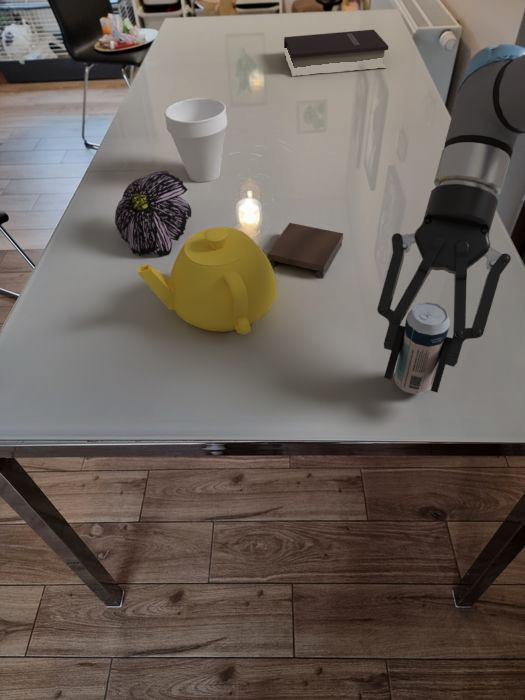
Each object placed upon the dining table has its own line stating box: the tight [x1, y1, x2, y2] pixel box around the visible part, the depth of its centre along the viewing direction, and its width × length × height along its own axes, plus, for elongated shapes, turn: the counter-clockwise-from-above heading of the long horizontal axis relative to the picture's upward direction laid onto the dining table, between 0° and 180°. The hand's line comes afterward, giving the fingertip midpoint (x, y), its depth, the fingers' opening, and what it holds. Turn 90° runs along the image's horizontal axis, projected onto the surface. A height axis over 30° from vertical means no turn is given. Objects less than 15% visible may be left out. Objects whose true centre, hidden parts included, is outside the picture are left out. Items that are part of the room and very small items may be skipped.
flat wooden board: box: [266, 222, 344, 279], centre depth 85 cm, size 10×10×2 cm
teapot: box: [136, 226, 278, 335], centre depth 73 cm, size 20×19×13 cm
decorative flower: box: [114, 170, 192, 258], centre depth 89 cm, size 15×12×15 cm
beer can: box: [393, 301, 451, 395], centre depth 60 cm, size 5×5×12 cm
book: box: [283, 29, 389, 68], centre depth 152 cm, size 28×20×6 cm
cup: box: [164, 97, 228, 183], centre depth 103 cm, size 12×12×14 cm
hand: (410, 384), depth 60 cm, fingers closed on beer can, 5 cm apart
